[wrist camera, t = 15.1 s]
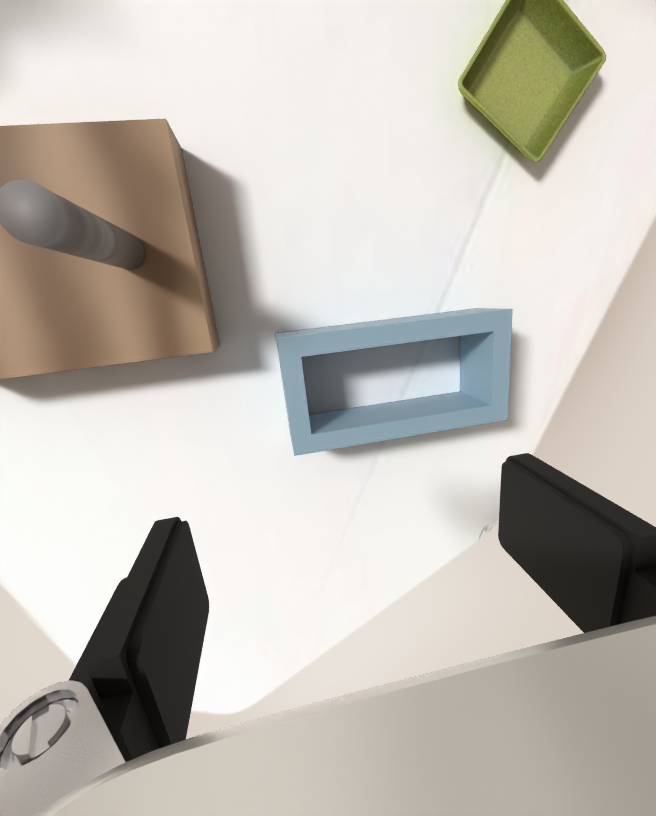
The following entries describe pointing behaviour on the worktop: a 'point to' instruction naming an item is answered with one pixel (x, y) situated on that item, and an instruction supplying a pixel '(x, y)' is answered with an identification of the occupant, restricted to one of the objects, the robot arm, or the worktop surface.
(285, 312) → the worktop surface
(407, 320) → the link frame
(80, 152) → the stand
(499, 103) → the green square tray
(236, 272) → the worktop surface
